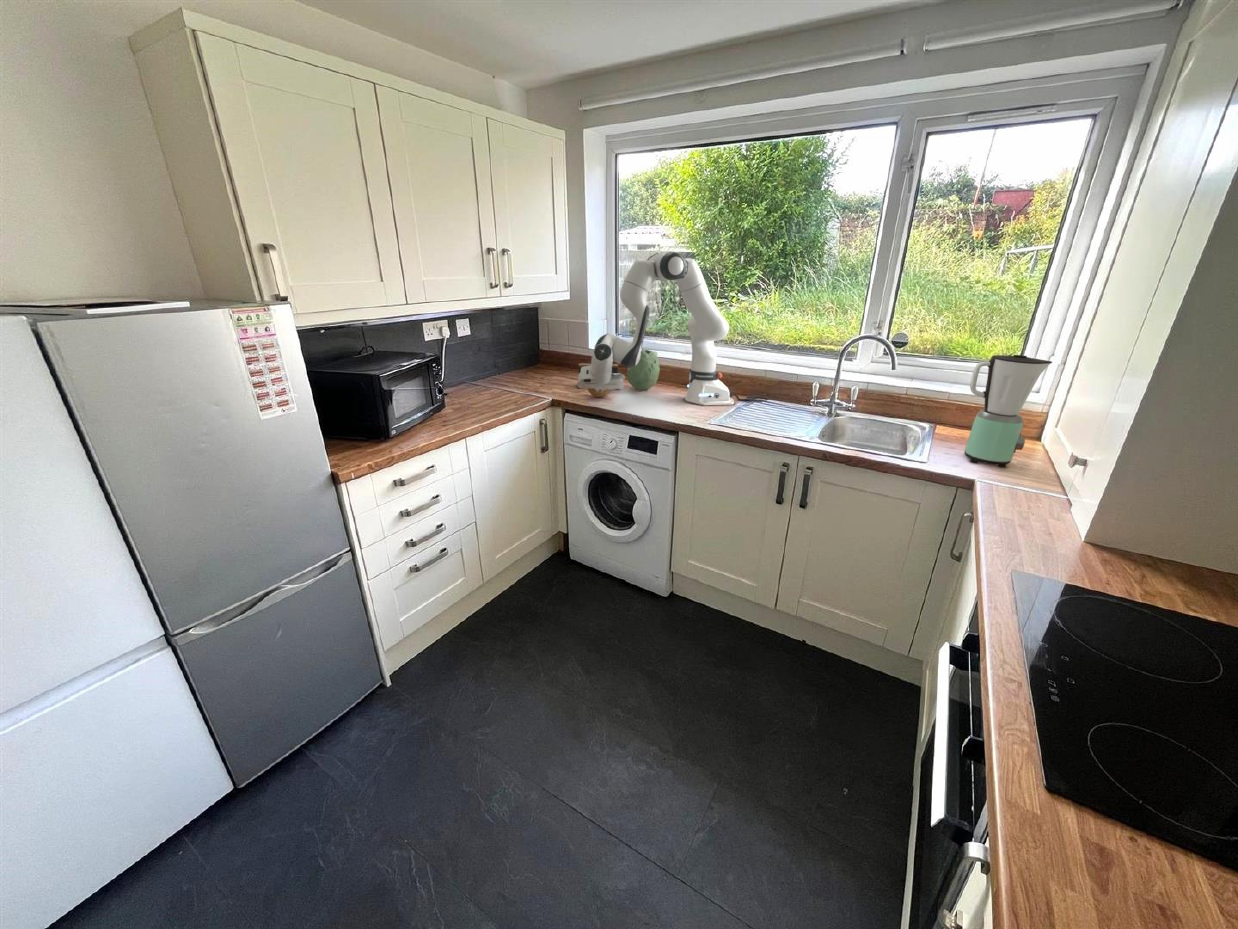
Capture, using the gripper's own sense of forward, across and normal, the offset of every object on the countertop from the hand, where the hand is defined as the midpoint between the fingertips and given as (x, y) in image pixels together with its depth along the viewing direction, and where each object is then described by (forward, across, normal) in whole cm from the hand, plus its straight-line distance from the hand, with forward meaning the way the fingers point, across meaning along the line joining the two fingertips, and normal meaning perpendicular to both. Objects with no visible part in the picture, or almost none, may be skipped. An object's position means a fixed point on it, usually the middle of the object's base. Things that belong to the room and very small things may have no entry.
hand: (599, 391), depth 224 cm
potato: (+8, 0, -2) cm, 8 cm away
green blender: (-49, -127, +55) cm, 146 cm away
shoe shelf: (+22, 0, -17) cm, 28 cm away
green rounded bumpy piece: (+19, -22, -13) cm, 32 cm away
